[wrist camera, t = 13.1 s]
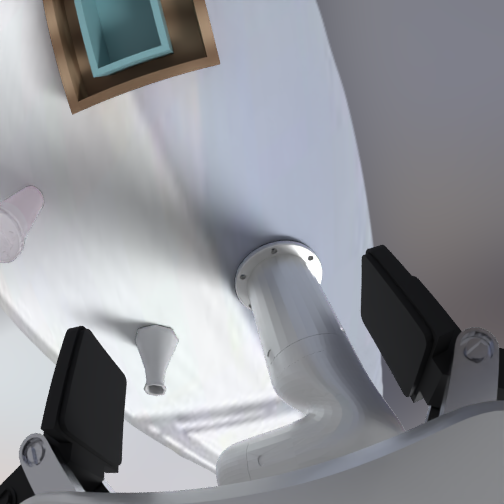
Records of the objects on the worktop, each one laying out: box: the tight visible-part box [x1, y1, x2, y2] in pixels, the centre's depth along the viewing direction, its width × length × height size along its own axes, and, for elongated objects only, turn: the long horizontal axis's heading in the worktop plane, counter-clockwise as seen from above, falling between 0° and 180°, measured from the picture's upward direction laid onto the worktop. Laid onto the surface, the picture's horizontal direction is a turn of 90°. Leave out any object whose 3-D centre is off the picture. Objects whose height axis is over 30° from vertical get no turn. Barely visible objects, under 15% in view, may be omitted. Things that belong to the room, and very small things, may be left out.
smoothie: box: [0, 186, 44, 263], centre depth 27 cm, size 6×6×14 cm
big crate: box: [43, 0, 220, 115], centre depth 23 cm, size 15×15×4 cm
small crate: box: [74, 0, 174, 77], centre depth 22 cm, size 10×7×6 cm
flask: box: [135, 325, 179, 396], centre depth 44 cm, size 7×7×10 cm
